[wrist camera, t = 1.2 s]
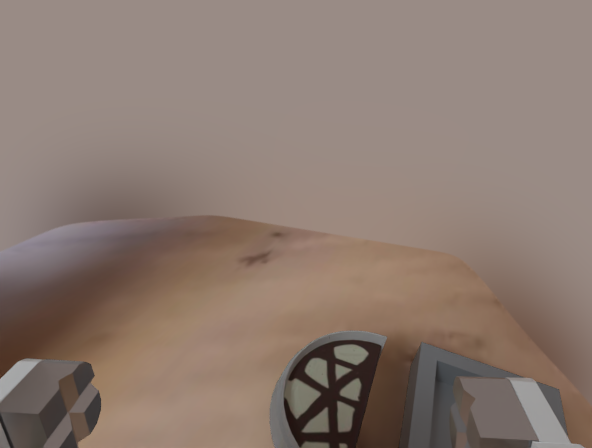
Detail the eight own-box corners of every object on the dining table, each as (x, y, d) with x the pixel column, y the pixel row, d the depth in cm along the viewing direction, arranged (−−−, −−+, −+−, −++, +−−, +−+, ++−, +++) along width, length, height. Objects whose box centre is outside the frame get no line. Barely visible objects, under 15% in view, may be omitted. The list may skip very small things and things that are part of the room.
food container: (293, 380, 39) (310, 302, 33) (359, 407, 38) (388, 331, 32) (229, 526, 29) (237, 451, 24) (315, 569, 28) (345, 501, 22)
